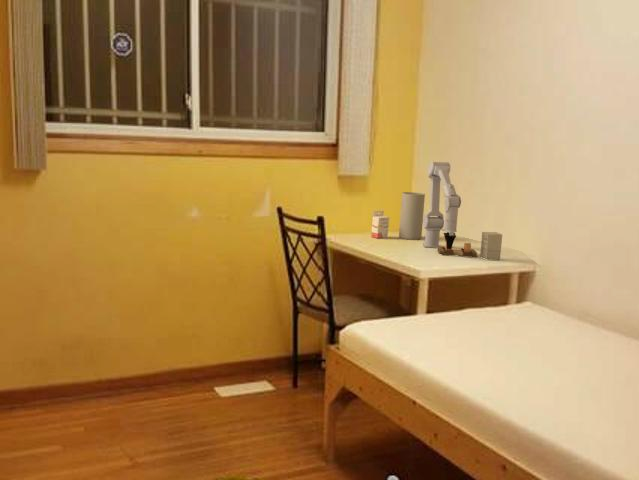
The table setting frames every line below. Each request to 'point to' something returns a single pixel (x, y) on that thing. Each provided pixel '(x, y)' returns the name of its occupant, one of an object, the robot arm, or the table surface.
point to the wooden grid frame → (456, 252)
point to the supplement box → (491, 245)
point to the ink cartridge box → (380, 225)
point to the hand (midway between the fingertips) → (448, 248)
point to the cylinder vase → (411, 215)
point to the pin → (467, 247)
